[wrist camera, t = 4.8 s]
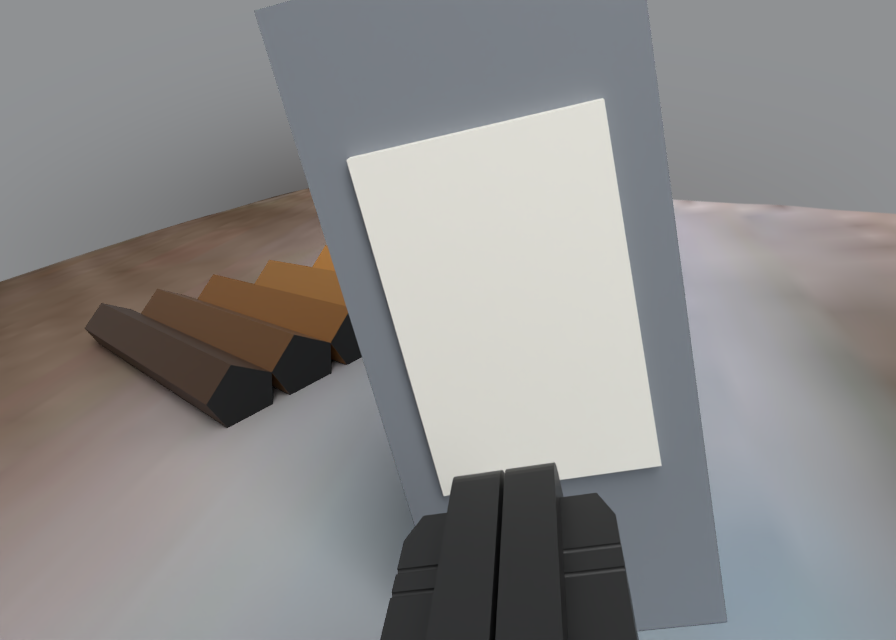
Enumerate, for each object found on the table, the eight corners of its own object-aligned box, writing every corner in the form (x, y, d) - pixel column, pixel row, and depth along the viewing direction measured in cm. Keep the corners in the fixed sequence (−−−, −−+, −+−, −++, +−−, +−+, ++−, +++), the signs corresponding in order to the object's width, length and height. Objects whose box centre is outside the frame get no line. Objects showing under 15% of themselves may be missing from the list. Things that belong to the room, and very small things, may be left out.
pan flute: (96, 353, 54) (221, 441, 35) (77, 312, 53) (196, 381, 34) (363, 240, 68) (560, 260, 48) (353, 205, 67) (551, 211, 47)
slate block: (730, 631, 18) (637, -99, 12) (451, 658, 19) (247, 10, 13) (693, 518, 22) (610, -71, 16) (465, 547, 23) (312, 12, 17)
